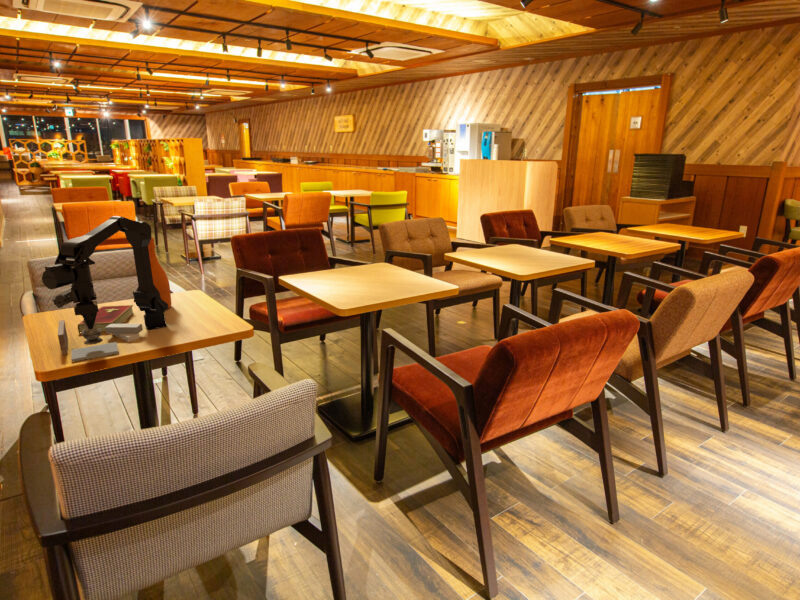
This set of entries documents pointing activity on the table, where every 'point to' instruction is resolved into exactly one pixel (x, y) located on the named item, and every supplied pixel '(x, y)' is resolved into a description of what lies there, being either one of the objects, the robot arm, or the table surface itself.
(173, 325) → the table surface
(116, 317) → the hardcover book
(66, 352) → the long thin taupe batten
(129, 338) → the bottom offcut
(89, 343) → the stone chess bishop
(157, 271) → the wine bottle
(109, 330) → the top offcut
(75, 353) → the slate mat
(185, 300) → the table surface
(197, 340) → the table surface
